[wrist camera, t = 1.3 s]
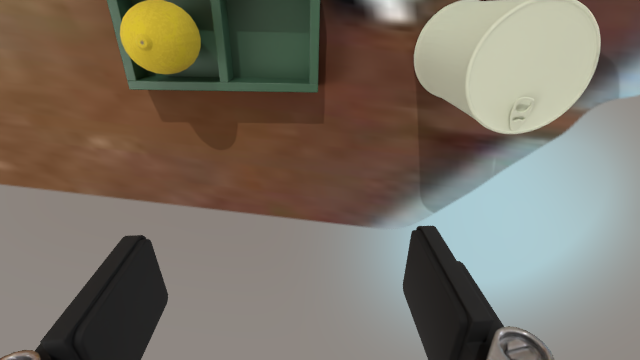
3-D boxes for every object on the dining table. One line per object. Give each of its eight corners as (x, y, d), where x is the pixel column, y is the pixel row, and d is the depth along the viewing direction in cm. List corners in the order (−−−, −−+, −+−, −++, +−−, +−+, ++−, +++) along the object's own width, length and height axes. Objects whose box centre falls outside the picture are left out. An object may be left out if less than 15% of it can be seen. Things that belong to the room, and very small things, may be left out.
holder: (118, -25, 27) (99, -29, 25) (318, -18, 28) (320, -21, 26) (143, 83, 32) (129, 89, 29) (316, 85, 33) (317, 92, 30)
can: (408, 99, 34) (455, 139, 23) (420, 0, 29) (486, -6, 19) (491, 97, 34) (576, 136, 24) (516, -1, 30) (634, -7, 19)
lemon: (211, 69, 31) (185, 86, 24) (152, 62, 30) (107, 77, 23) (209, 5, 28) (178, 3, 21) (145, -4, 28) (91, -9, 21)
